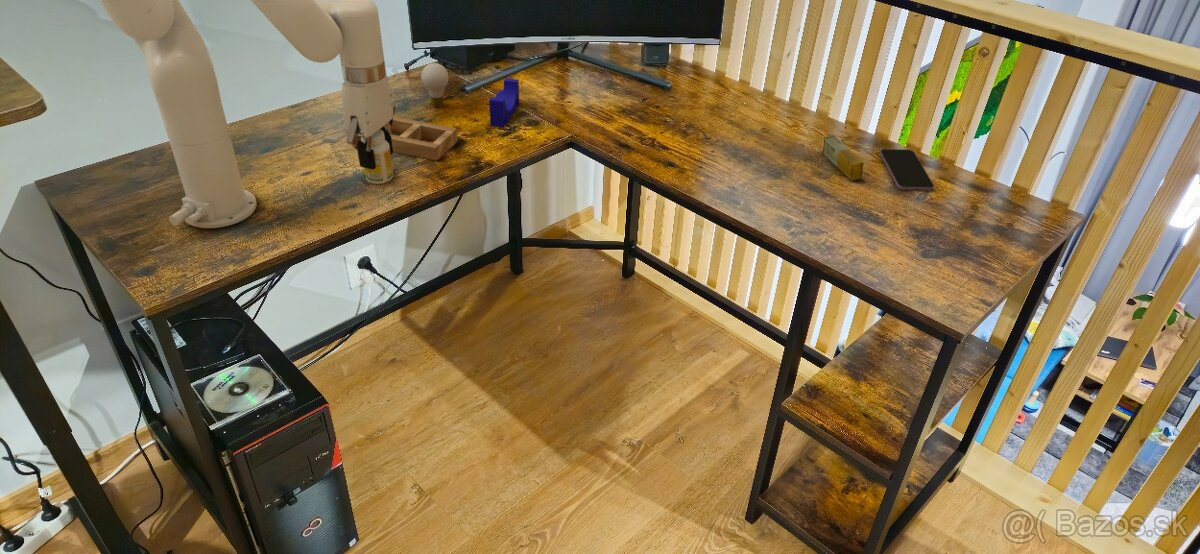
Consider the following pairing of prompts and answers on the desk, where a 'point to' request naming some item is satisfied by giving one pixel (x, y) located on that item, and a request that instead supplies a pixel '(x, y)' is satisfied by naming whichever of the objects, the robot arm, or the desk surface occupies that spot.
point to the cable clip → (504, 103)
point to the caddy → (415, 132)
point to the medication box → (843, 158)
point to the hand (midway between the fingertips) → (376, 159)
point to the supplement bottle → (380, 160)
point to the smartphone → (906, 170)
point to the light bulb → (435, 82)
